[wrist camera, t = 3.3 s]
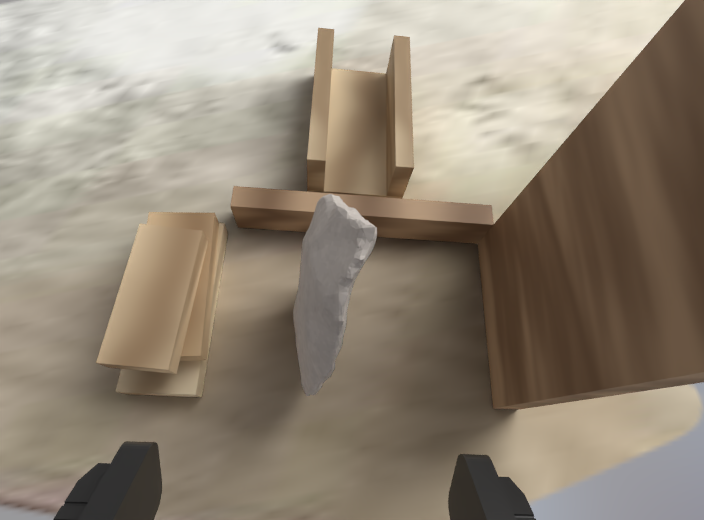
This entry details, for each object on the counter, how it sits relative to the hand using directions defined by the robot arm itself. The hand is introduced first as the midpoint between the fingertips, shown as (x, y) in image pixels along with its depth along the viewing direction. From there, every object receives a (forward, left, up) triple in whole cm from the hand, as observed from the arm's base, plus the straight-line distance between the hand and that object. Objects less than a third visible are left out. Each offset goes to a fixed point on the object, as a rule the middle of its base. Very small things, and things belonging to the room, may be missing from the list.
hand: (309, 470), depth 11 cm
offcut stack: (-9, +8, -15) cm, 19 cm away
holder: (+2, +23, -15) cm, 28 cm away
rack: (+3, +9, -15) cm, 18 cm away
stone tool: (0, +7, -15) cm, 17 cm away
